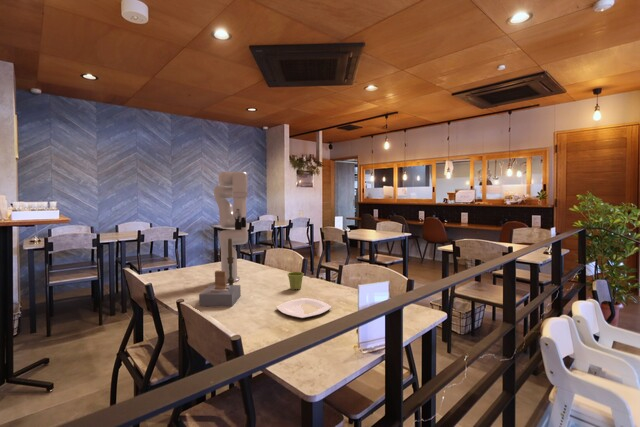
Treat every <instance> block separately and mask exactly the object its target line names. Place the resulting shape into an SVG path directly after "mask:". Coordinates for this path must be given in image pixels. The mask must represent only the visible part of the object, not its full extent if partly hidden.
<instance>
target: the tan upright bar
mask: <svg viewBox="0 0 640 427" xmlns="http://www.w3.org/2000/svg"><path fill="white" fill-rule="evenodd" d="M214 285H215V289H227V288H226V285H227V283H226V271H221V270H215V271H214Z"/></svg>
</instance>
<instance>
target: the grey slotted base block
mask: <svg viewBox="0 0 640 427" xmlns="http://www.w3.org/2000/svg"><path fill="white" fill-rule="evenodd" d="M226 288H227V289H215V284H210V285H208V286H207V287H206V288H205V289H204V290H203V291H201V292H200V293H199V294H198V297H199V299H198V303H199V307H207V308H208V307H212V308H213V307H214V308H215V307H219V308H221V307H230V308H232V307H233V306H234V305H235V304H236V302H237V301H238V300H239V299H240V298H241V296H242V295H241V285H240V284H233V285H229V284H226Z"/></svg>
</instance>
